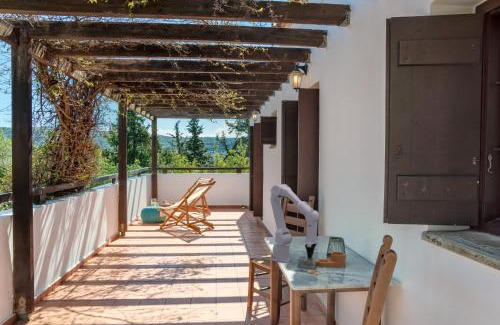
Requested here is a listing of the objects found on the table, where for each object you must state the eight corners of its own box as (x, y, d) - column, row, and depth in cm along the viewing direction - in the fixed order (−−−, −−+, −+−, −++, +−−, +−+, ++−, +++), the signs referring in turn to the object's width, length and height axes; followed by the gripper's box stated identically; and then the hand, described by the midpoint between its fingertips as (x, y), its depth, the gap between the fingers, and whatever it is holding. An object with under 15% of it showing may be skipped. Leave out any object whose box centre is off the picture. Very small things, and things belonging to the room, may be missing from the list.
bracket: (340, 263, 232) (341, 251, 232) (347, 267, 224) (348, 255, 224) (311, 263, 228) (312, 251, 227) (317, 267, 219) (318, 255, 219)
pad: (307, 273, 208) (307, 272, 208) (308, 270, 214) (308, 269, 214) (318, 274, 206) (318, 274, 206) (320, 271, 212) (320, 270, 212)
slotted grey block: (306, 264, 217) (307, 251, 217) (307, 262, 222) (308, 249, 222) (311, 265, 216) (312, 251, 216) (313, 262, 221) (313, 249, 221)
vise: (296, 269, 214) (296, 260, 214) (299, 264, 224) (300, 255, 224) (315, 271, 211) (315, 263, 211) (317, 266, 222) (318, 258, 221)
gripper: (317, 236, 211) (315, 261, 211) (320, 231, 225) (318, 255, 225) (303, 234, 213) (302, 259, 213) (307, 230, 227) (306, 253, 227)
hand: (310, 257), depth 219 cm, fingers closed on slotted grey block, 2 cm apart
